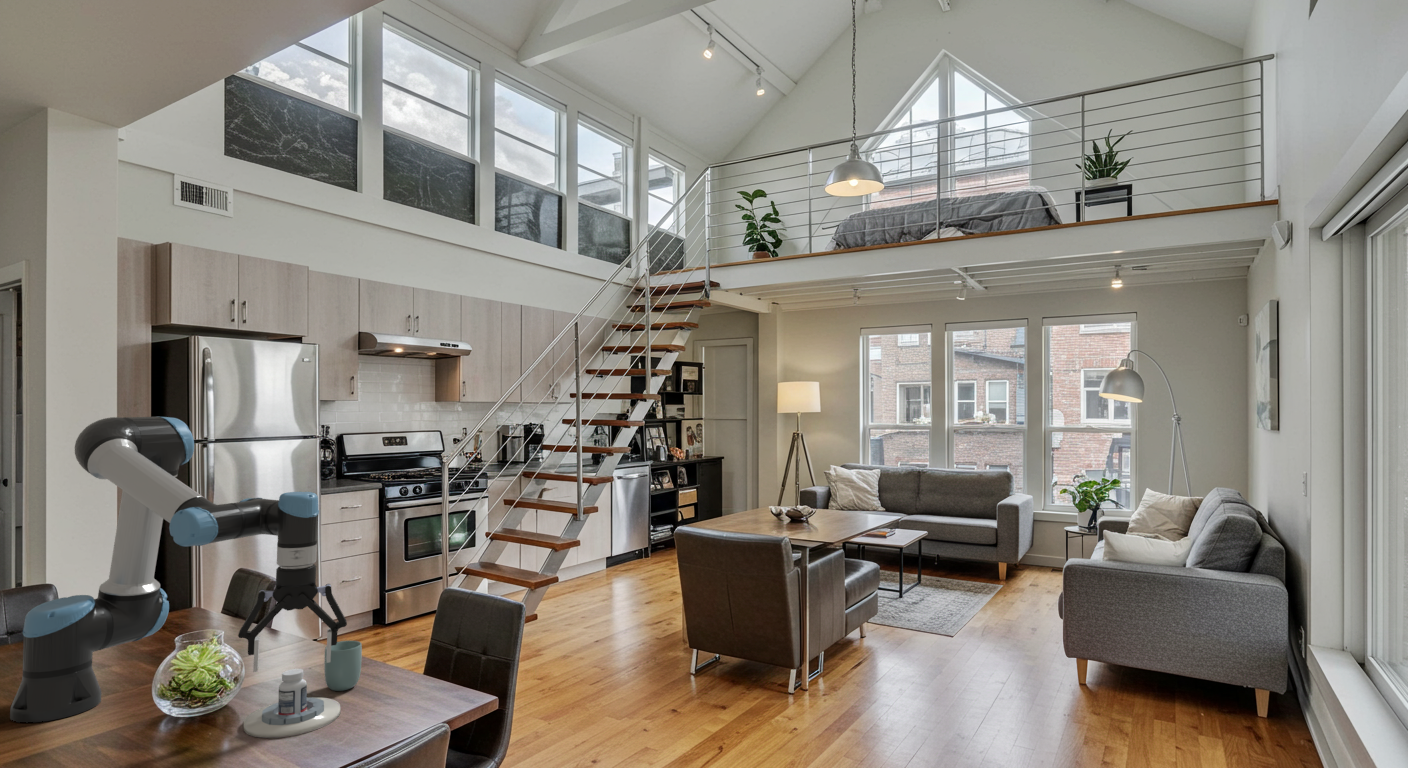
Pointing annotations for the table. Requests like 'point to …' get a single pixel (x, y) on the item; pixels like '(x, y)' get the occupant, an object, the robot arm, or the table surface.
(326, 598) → the robot arm
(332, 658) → the cup
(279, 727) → the tray
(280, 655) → the table surface
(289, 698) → the pill bottle
